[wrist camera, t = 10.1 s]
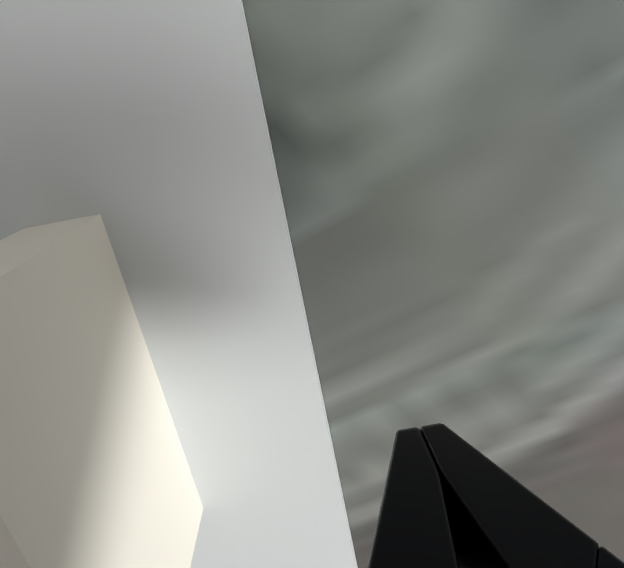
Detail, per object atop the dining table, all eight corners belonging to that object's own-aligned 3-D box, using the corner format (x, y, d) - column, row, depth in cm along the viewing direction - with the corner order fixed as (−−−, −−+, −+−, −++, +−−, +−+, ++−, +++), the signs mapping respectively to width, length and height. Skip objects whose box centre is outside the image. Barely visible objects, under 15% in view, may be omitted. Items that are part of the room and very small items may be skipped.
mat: (368, 619, 17) (369, 631, 17) (-70, 686, 18) (-78, 699, 17) (232, -46, 10) (229, -52, 9) (-513, 106, 10) (-544, 107, 10)
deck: (203, 507, 14) (144, 772, 9) (144, 517, 14) (48, 787, 9) (100, 214, 11) (-99, 337, 5) (23, 228, 11) (-250, 365, 6)
